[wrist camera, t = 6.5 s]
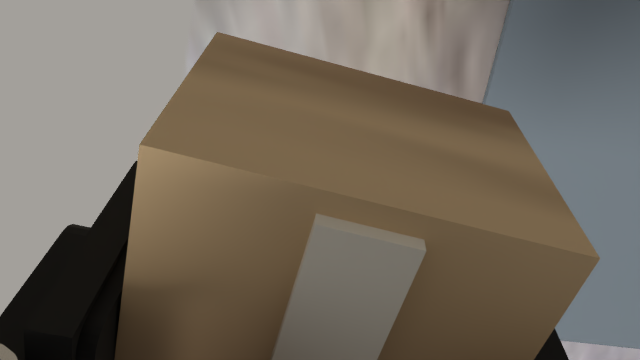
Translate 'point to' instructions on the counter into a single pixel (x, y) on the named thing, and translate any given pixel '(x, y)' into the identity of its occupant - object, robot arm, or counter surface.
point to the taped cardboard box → (339, 221)
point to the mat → (583, 140)
